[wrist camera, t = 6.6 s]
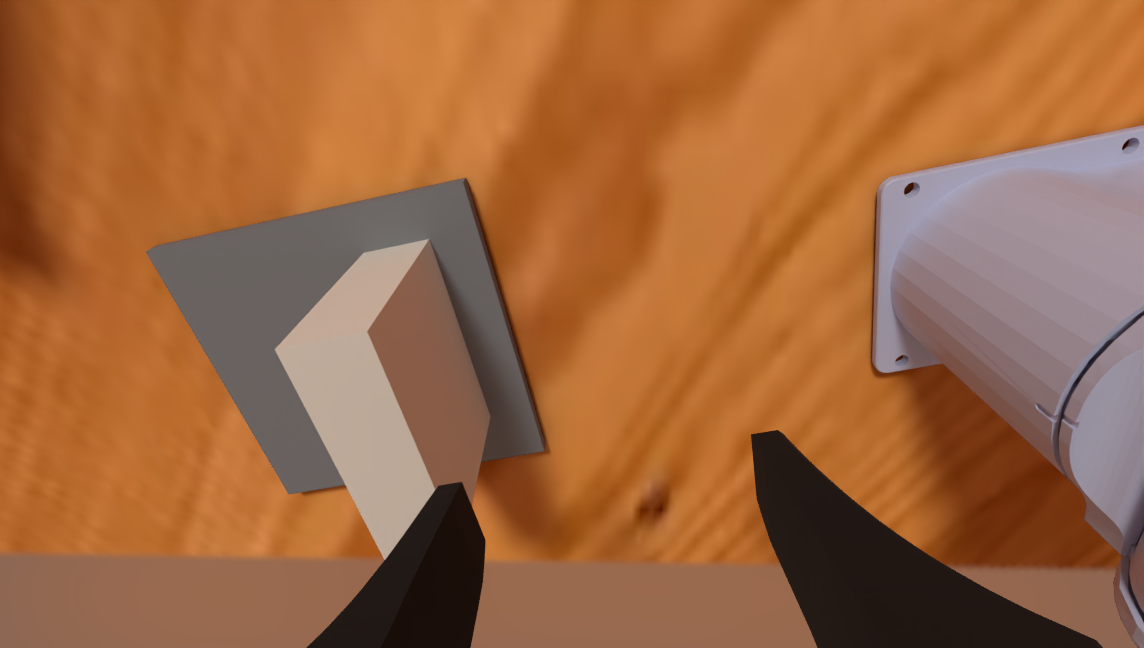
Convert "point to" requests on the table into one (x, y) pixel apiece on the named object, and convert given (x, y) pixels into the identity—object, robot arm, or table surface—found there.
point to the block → (390, 386)
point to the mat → (300, 280)
